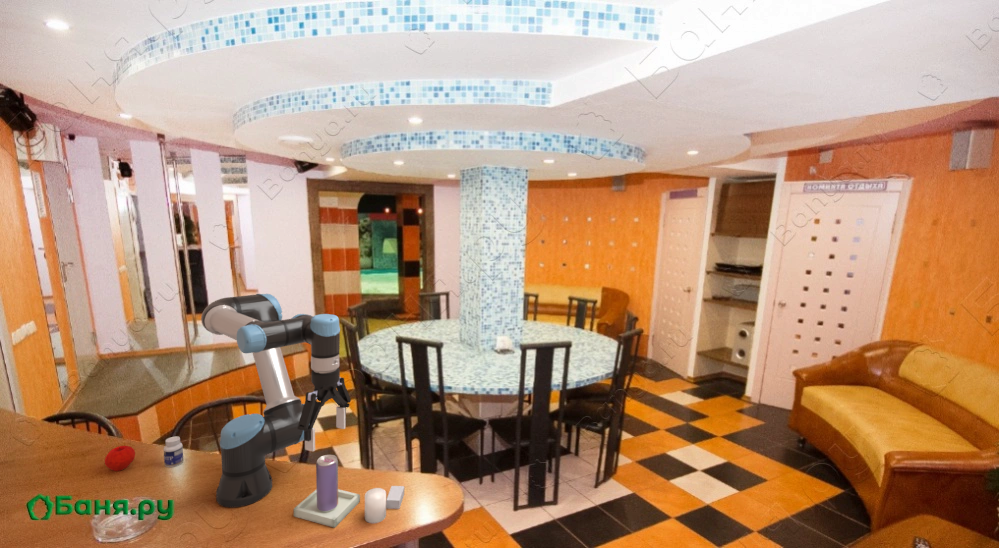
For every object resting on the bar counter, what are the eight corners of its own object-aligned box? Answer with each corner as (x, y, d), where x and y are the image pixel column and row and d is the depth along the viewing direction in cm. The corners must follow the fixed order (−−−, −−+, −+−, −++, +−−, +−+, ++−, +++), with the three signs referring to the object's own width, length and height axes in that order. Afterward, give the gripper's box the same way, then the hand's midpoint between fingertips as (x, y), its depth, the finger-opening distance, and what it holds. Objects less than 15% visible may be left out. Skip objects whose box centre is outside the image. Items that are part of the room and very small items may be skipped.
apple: (140, 466, 148) (139, 446, 147) (110, 478, 141) (108, 456, 140) (131, 459, 152) (129, 439, 151) (101, 469, 146) (99, 448, 145)
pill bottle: (160, 466, 149) (158, 441, 148) (174, 458, 154) (173, 434, 153) (173, 468, 148) (171, 444, 146) (187, 460, 153) (186, 436, 152)
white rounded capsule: (360, 520, 127) (360, 498, 126) (372, 507, 132) (372, 486, 131) (378, 525, 125) (378, 502, 124) (389, 512, 131) (389, 490, 130)
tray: (293, 516, 127) (293, 508, 127) (321, 491, 139) (321, 484, 138) (334, 527, 123) (334, 520, 123) (359, 501, 135) (359, 494, 134)
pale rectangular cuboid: (391, 494, 139) (391, 485, 139) (404, 494, 139) (404, 486, 139) (386, 509, 132) (386, 500, 132) (399, 509, 132) (399, 500, 132)
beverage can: (331, 514, 127) (330, 466, 125) (312, 511, 128) (311, 463, 126) (342, 501, 133) (341, 455, 131) (324, 498, 134) (323, 452, 132)
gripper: (305, 386, 112) (306, 463, 115) (362, 357, 136) (362, 421, 139) (281, 382, 114) (283, 457, 117) (341, 354, 138) (342, 417, 141)
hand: (326, 438), depth 128 cm, fingers open, 13 cm apart
